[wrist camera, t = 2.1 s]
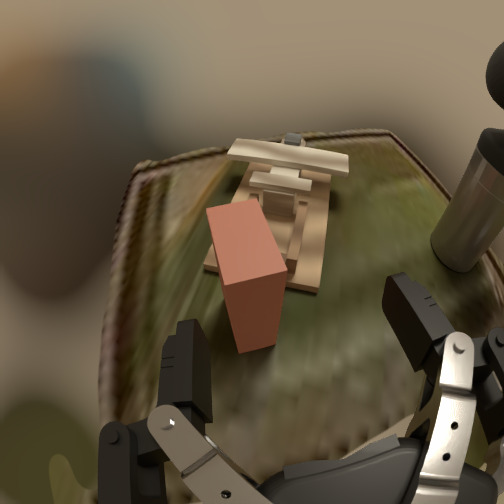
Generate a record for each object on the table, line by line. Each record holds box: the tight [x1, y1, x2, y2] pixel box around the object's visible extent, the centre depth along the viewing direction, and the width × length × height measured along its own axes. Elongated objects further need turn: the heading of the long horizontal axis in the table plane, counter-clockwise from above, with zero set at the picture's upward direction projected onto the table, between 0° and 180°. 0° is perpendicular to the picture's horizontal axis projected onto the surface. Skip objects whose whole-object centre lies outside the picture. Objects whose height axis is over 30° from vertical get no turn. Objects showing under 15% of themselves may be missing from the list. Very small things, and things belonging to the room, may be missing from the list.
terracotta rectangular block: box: [206, 198, 288, 354], centre depth 24 cm, size 7×4×14 cm, turn 15°
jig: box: [203, 133, 349, 293], centre depth 39 cm, size 28×18×7 cm, turn 165°
